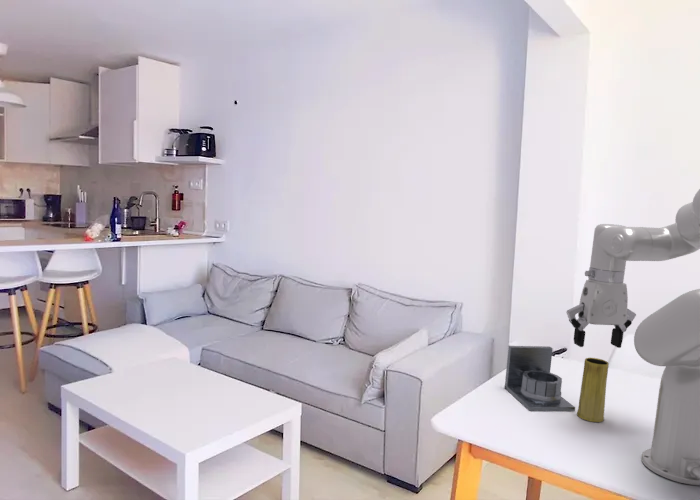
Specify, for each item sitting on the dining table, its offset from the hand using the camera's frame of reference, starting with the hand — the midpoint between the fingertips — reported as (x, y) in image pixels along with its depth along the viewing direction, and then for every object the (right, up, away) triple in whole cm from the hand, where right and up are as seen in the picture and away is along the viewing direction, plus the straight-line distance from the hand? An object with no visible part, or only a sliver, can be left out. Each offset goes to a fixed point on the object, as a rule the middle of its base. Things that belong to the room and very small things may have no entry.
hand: (597, 345), depth 129 cm
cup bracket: (-10, -16, +11) cm, 22 cm away
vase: (-1, -18, +2) cm, 18 cm away
